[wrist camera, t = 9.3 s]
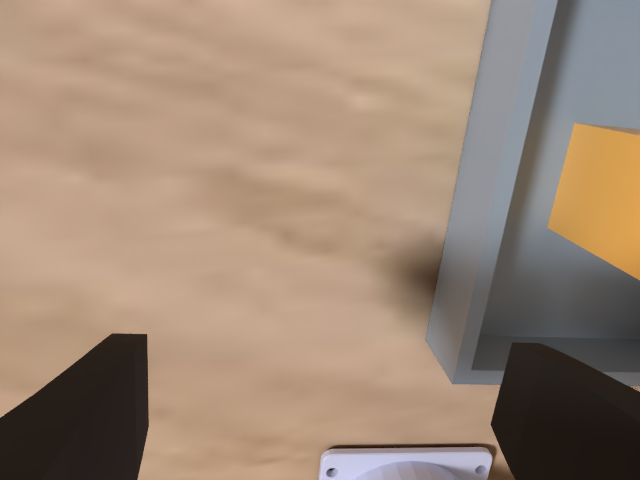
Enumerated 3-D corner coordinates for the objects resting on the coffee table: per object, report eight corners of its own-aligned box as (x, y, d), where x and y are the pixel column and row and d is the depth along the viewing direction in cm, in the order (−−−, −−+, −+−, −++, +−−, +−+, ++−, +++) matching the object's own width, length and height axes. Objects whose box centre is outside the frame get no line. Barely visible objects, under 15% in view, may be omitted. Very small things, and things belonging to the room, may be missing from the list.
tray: (640, 345, 22) (696, 386, 20) (425, 340, 21) (452, 384, 18) (775, -31, 17) (875, -48, 15) (506, -73, 16) (559, -102, 13)
